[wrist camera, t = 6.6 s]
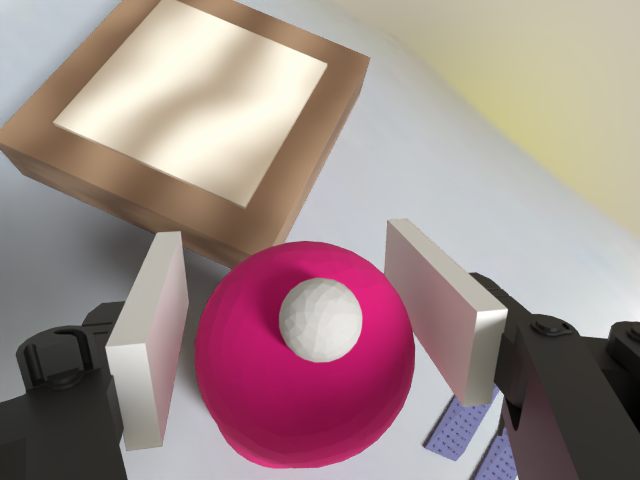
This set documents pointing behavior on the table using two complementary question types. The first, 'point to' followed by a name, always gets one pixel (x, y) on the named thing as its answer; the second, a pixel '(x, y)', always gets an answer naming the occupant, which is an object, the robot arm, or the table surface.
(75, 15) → the table surface
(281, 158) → the walnut stand
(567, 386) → the robot arm
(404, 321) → the pepper mill
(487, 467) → the signage
